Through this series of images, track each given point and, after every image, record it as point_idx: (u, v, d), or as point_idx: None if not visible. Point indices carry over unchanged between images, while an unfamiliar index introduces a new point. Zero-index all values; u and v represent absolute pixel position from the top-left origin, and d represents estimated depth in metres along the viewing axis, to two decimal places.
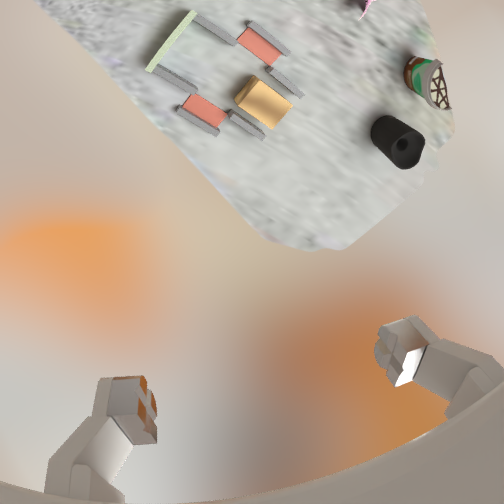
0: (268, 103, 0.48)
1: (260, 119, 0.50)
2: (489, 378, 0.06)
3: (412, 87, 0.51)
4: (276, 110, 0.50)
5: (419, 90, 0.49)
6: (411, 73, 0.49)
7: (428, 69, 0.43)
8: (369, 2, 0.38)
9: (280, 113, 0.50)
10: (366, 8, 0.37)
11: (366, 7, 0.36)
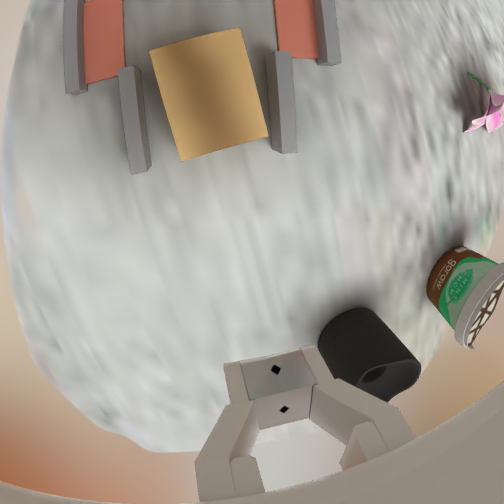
0: (217, 90, 0.17)
1: (171, 117, 0.17)
2: (382, 439, 0.05)
3: (439, 288, 0.33)
4: (224, 121, 0.18)
5: (454, 298, 0.30)
6: (454, 265, 0.31)
7: (496, 270, 0.26)
8: (481, 123, 0.25)
9: (226, 134, 0.19)
10: (486, 119, 0.22)
11: (488, 116, 0.21)
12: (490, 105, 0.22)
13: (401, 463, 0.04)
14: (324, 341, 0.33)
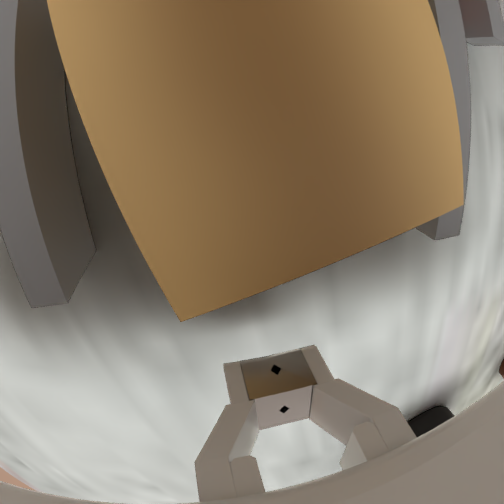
0: (316, 16, 0.03)
1: (109, 140, 0.03)
2: (382, 439, 0.05)
3: None
4: (350, 149, 0.04)
5: None
6: None
7: None
8: None
9: (357, 202, 0.05)
10: None
11: None
12: None
13: (401, 463, 0.04)
14: None
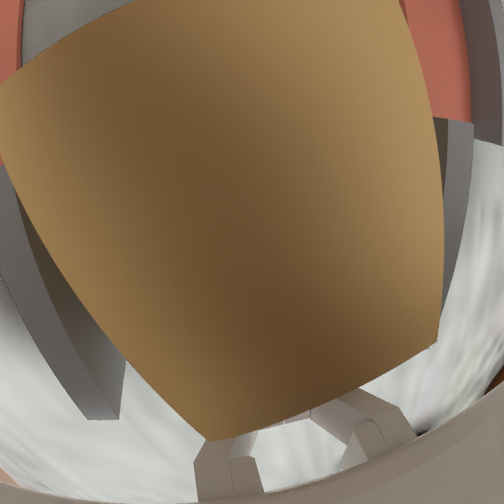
0: (320, 252, 0.04)
1: (149, 367, 0.05)
2: (383, 438, 0.05)
3: None
4: (337, 347, 0.05)
5: None
6: None
7: None
8: None
9: (341, 373, 0.06)
10: None
11: None
12: None
13: (401, 463, 0.04)
14: None
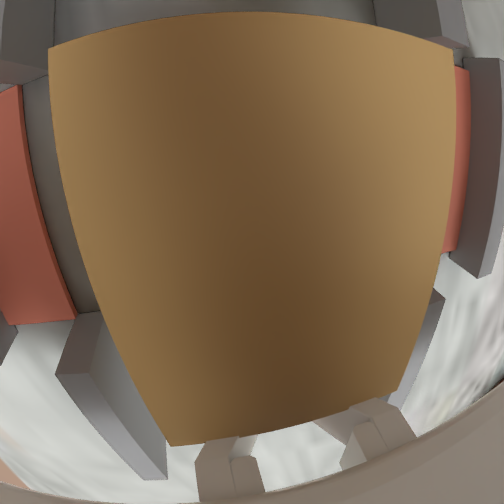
0: (327, 293, 0.05)
1: (139, 364, 0.05)
2: (382, 439, 0.05)
3: None
4: (314, 379, 0.06)
5: None
6: None
7: None
8: None
9: (309, 403, 0.06)
10: None
11: None
12: None
13: (401, 463, 0.04)
14: None
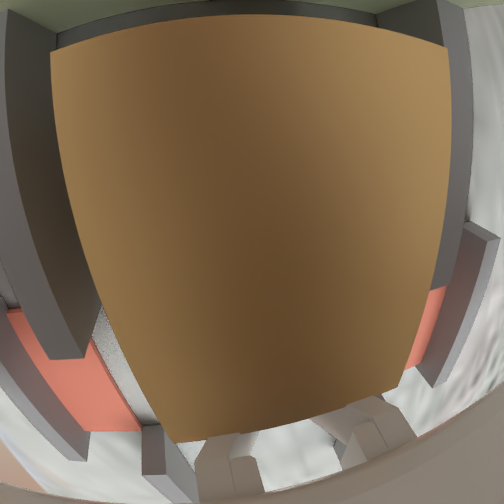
0: (326, 289, 0.05)
1: (141, 360, 0.05)
2: (382, 439, 0.05)
3: None
4: (314, 375, 0.06)
5: None
6: None
7: None
8: None
9: (309, 399, 0.06)
10: None
11: None
12: None
13: (401, 463, 0.04)
14: None
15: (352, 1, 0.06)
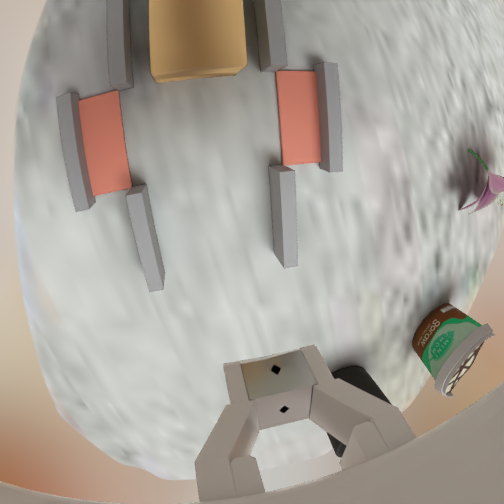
0: (204, 14, 0.14)
1: (153, 30, 0.14)
2: (382, 439, 0.05)
3: (423, 345, 0.36)
4: (204, 42, 0.15)
5: (435, 356, 0.33)
6: (438, 326, 0.35)
7: (475, 334, 0.29)
8: None
9: (204, 54, 0.15)
10: (481, 205, 0.26)
11: (484, 203, 0.25)
12: (487, 187, 0.26)
13: (401, 463, 0.04)
14: None
15: None
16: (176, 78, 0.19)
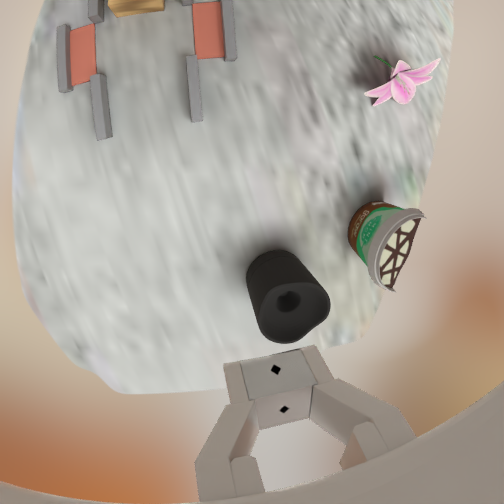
0: None
1: None
2: (382, 439, 0.05)
3: (355, 235, 0.42)
4: None
5: (365, 241, 0.39)
6: (367, 214, 0.41)
7: (401, 213, 0.35)
8: (388, 96, 0.35)
9: None
10: (382, 90, 0.32)
11: (384, 88, 0.31)
12: (391, 79, 0.32)
13: (401, 463, 0.04)
14: (248, 276, 0.42)
15: None
16: (126, 12, 0.24)
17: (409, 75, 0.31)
